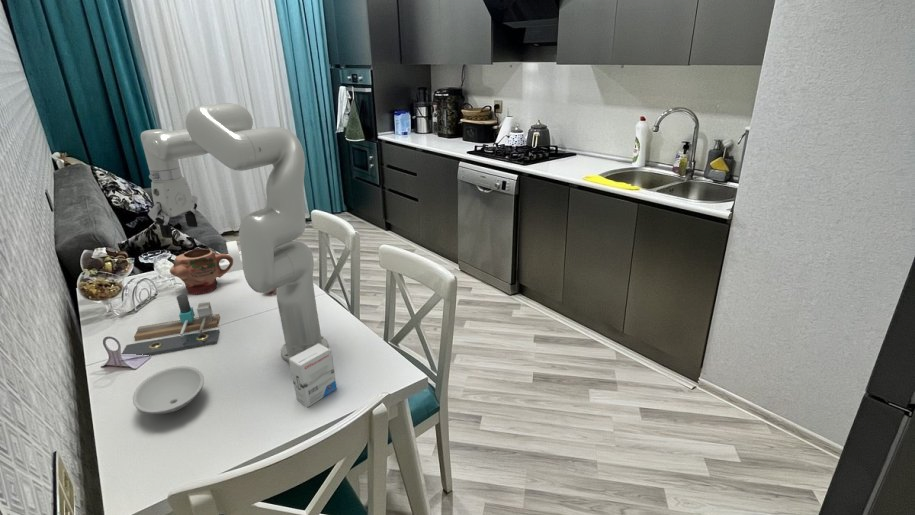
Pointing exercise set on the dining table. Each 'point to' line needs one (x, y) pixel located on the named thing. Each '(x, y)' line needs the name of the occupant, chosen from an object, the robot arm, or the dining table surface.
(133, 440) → the dining table surface
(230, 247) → the tape dispenser
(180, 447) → the dining table surface
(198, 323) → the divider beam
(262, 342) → the dining table surface
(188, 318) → the sliding leg
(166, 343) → the hole plate
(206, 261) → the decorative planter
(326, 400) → the dining table surface
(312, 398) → the ink box
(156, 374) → the dish
